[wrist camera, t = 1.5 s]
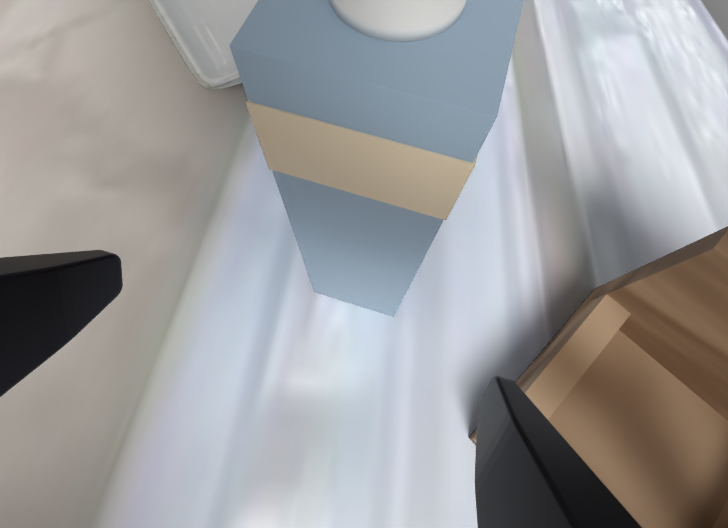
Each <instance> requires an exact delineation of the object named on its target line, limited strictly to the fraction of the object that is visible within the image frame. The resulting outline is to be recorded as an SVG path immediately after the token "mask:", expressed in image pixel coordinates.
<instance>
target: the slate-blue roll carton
mask: <svg viewBox="0 0 728 528" xmlns="http://www.w3.org/2000/svg"><path fill="white" fill-rule="evenodd" d="M522 4H523V0H258V1H257V3H256V5H255V6H254V8H253V9H252V11H251V12H250V14H249V16H248V17H247V19H246V20H245V22H244V23H243V25H242V26H241V28H240V30H239V31H238V33H237V34H236V36H235V37H234V39H233V40H232V42H231V44H230V45H229V46H230V49H231V52H232V55H233V58H234V61H235V64H236V67H237V69H238V72H239V75H240V78H241V81H242V84H243V87H244V90H245V93H246V96H247V100H246V102H245V103H246V105H247V108H248V111H249V114H250V117H251V119H252V122H253V125H254V128H255V131H256V133H257V136H258V139H259V142H260V145H261V147H262V150H263V153H264V156H265V159H266V161H267V164H268V167H269V169H271V170H272V171H273V174H274V177H275V179H276V182H277V185H278V188H279V191H280V194H281V197H282V200H283V203H284V205H285V208H286V211H287V214H288V217H289V220H290V223H291V226H292V229H293V232H294V234H295V237H296V240H297V243H298V246H299V249H300V252H301V255H302V258H303V260H304V263H305V266H306V269H307V272H308V275H309V278H310V281H311V284H312V287H313V289H314V292H317V293H320V294H323V295H326V296H330V297H333V298H336V299H339V300H342V301H345V302H349V303H352V304H355V305H358V306H361V307H365V308H368V309H371V310H374V311H377V312H380V313H384V314H387V315H390V316H393V317H394V315H395V313H396V311H397V309H398V307H399V305H400V303H401V301H402V299H403V297H404V296H405V294H406V292H407V290H408V288H409V286H410V284H411V282H412V280H413V278H414V276H415V274H416V272H417V270H418V268H419V266H420V265H421V263H422V261H423V259H424V257H425V255H426V253H427V251H428V249H429V247H430V245H431V243H432V241H433V239H434V237H435V235H436V234H437V232H438V230H439V228H440V226H441V224H442V222H443V220H446V219H447V217H448V215H449V213H450V211H451V210H452V208H453V206H454V204H455V202H456V200H457V198H458V196H459V194H460V193H461V191H462V189H463V187H464V185H465V183H466V181H467V179H468V177H469V176H470V174H471V172H472V170H473V168H474V166H475V163H476V158H477V154H478V152H479V150H480V148H481V146H482V144H483V142H484V141H485V139H486V137H487V135H488V133H489V131H490V129H491V127H492V125H493V123H494V121H495V119H496V117H497V114H498V110H499V105H500V101H501V97H502V92H503V88H504V83H505V79H506V75H507V70H508V66H509V61H510V57H511V53H512V48H513V44H514V39H515V35H516V31H517V26H518V22H519V17H520V13H521V9H522Z"/></svg>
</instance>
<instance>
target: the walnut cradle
mask: <svg viewBox="0 0 728 528" xmlns="http://www.w3.org/2000/svg"><path fill="white" fill-rule="evenodd" d="M515 383H516V384H517V385H518V386H519V387H520V388H521V390H522V391H523V392H524V393H525V394H526V395H527V396H528V398H529V399H530V400H531V401H532V402H533V403H534V404H535V406H536V407H537V408H538V409H539V410H540V411H541V412H542V414H543V415H544V416H545V417H546V418H547V419H548V420H549V422H550V423H551V424H552V425H553V426H554V427H555V428H556V430H557V431H558V432H559V433H560V434H561V435H562V437H563V438H564V439H565V440H566V441H567V442H568V443H569V445H570V446H571V447H572V448H573V449H574V450H575V451H576V453H577V454H578V455H579V456H580V457H581V458H582V459H583V461H584V462H585V463H586V464H587V465H588V466H589V467H590V469H591V470H592V471H593V472H594V473H595V474H596V475H597V477H598V478H599V479H600V480H601V481H602V482H603V483H604V485H605V486H606V487H607V488H608V489H609V490H610V491H611V493H612V494H613V495H614V496H615V497H616V498H617V499H618V501H619V502H620V503H621V504H622V505H623V506H624V507H625V509H626V510H627V511H628V512H629V513H630V514H631V515H632V517H633V518H634V519H635V520H636V521H637V522H638V523H639V525H640V526H641V527H642V528H728V227H725V228H723V229H721V230H719V231H717V232H715V233H713V234H711V235H708V236H706V237H704V238H702V239H700V240H698V241H696V242H693V243H691V244H689V245H687V246H685V247H683V248H681V249H679V250H676V251H674V252H672V253H670V254H668V255H666V256H664V257H662V258H659V259H657V260H655V261H653V262H651V263H649V264H647V265H644V266H642V267H640V268H638V269H636V270H634V271H632V272H630V273H627V274H625V275H623V276H621V277H619V278H617V279H615V280H613V281H610V282H608V283H606V284H604V285H602V286H600V287H598V288H595V289H594V290H593V291H592V293H591V294H590V295H589V296H588V297H587V298H586V300H585V301H584V302H583V303H582V304H581V305H580V307H579V308H578V309H577V310H576V311H575V313H574V314H573V315H572V316H571V317H570V318H569V320H568V321H567V322H566V323H565V324H564V326H563V327H562V328H561V329H560V330H559V331H558V333H557V334H556V335H555V336H554V337H553V339H552V340H551V341H550V342H549V343H548V344H547V346H546V347H545V348H544V349H543V350H542V352H541V353H540V354H539V355H538V356H537V357H536V359H535V360H534V361H533V362H532V363H531V364H530V366H529V367H528V368H527V369H526V370H525V372H524V373H523V374H522V375H521V376H520V377H519V379H518V380H517V381H516V382H515ZM476 435H477V428H476V429H475V431H474V432H473V433H472V434H471V435H470V436H469V438H470V439H471V440H472V442H473V443H474V444H475V445H476Z"/></svg>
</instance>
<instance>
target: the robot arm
mask: <svg viewBox="0 0 728 528" xmlns="http://www.w3.org/2000/svg"><path fill="white" fill-rule="evenodd" d="M122 286H123V283H122V269H121V260H120V258H119V256H117V255H116V254H113V253H110V252H107V251H103V250H92V251H79V252H67V253H54V254H41V255H29V256H16V257H4V258H0V397H1V396H2V395H3V394H5V393H6V392H7V391H8V390H10V389H11V388H12V387H13V386H15V385H16V384H17V383H18V382H20V381H21V380H22V379H23V378H25V377H26V376H27V375H28V374H30V373H31V372H32V371H33V370H35V369H36V368H37V367H38V366H40V365H41V364H42V363H43V362H45V361H46V360H47V359H48V358H50V357H51V356H52V355H53V354H55V353H56V352H57V351H58V350H60V349H61V348H62V347H63V346H64V345H66V344H67V343H68V342H69V341H70V340H71V339H72V338H74V337H75V336H76V335H77V334H78V333H79V332H80V331H81V330H82V329H83V328H84V327H85V326H86V325H87V324H88V323H90V322H91V321H92V320H93V319H94V318H95V317H96V316H97V315H98V314H99V313H100V312H101V311H102V310H103V309H104V308H105V307H106V306H107V305H108V304H110V303H111V302H112V301H113V300H114V299H115V298H116V297H117V296H118V295H119V293H120V292H121V290H122ZM475 494H476V508H477V522H478V528H642V527H641V526H640V525H639V523H638V522H637V521H636V520H635V519H634V518H633V517H632V515H631V514H630V513H629V512H628V511H627V510H626V509H625V507H624V506H623V505H622V504H621V503H620V502H619V501H618V499H617V498H616V497H615V496H614V495H613V494H612V493H611V491H610V490H609V489H608V488H607V487H606V486H605V485H604V483H603V482H602V481H601V480H600V479H599V478H598V477H597V475H596V474H595V473H594V472H593V471H592V470H591V469H590V467H589V466H588V465H587V464H586V463H585V462H584V461H583V459H582V458H581V457H580V456H579V455H578V454H577V453H576V451H575V450H574V449H573V448H572V447H571V446H570V445H569V443H568V442H567V441H566V440H565V439H564V438H563V437H562V435H561V434H560V433H559V432H558V431H557V430H556V428H555V427H554V426H553V425H552V424H551V423H550V422H549V420H548V419H547V418H546V417H545V416H544V415H543V414H542V412H541V411H540V410H539V409H538V408H537V407H536V406H535V404H534V403H533V402H532V401H531V400H530V399H529V398H528V396H527V395H526V394H525V393H524V392H523V391H522V390H521V388H520V387H519V386H518V385H517V384H516V383H515V382H514V381H512V380H508V379H505V378H502V377H499V376H496V377H494V378H493V379H492V380H491V381H490V383H489V385H488V387H487V389H486V391H485V393H484V395H483V397H482V399H481V401H480V404H479V407H478V412H477V435H476V462H475Z"/></svg>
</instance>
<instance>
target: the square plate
mask: <svg viewBox="0 0 728 528" xmlns="http://www.w3.org/2000/svg"><path fill="white" fill-rule="evenodd" d="M257 1H258V0H149V2H150V3H151V5H152V7H153V8H154V10H155V12H156V14H157V15H158V17H159V19H160V21H161V22H162V24H163V26H164V28H165V29H166V31H167V33H168V35H169V36H170V38H171V40H172V42H173V43H174V45H175V47H176V48H177V50H178V52H179V53H180V55H181V57H182V58H183V60H184V62H185V63H186V65H187V67H188V68H189V70H190V71H191V73H192V74H193V76H194V77H195V78H196V80H197V81H198V82H199V84H200V85H201V86H202V87H204V88H206V89H221V88H228V87H231V86H234V85H237V84H241V83H242V81H241V78H240V75H239V72H238V69H237V67H236V64H235V61H234V58H233V55H232V52H231V49H230V46H229V45H230V44H231V42H232V40H233V39H234V37H235V36H236V34H237V33H238V31H239V30H240V28H241V26H242V25H243V23H244V22H245V20H246V19H247V17H248V16H249V14H250V12H251V11H252V9H253V8H254V6H255V5H256V3H257Z"/></svg>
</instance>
